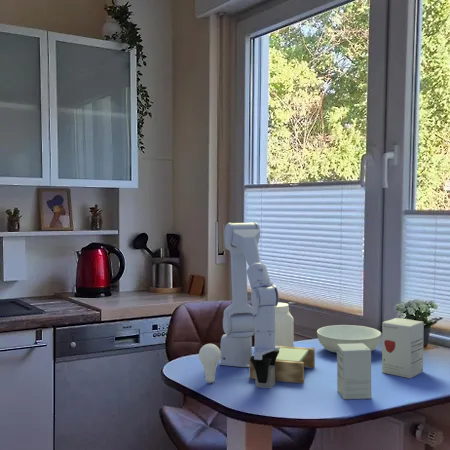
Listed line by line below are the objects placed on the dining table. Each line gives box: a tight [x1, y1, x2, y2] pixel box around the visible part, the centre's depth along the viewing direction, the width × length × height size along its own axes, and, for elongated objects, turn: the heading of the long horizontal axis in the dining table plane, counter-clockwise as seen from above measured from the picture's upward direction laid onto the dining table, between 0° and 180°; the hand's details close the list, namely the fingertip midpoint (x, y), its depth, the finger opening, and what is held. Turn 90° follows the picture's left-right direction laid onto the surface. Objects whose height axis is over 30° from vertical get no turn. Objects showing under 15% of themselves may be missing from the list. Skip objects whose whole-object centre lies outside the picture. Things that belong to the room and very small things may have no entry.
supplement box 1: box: [336, 343, 372, 400], centre depth 152 cm, size 7×7×13 cm
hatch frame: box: [249, 346, 316, 384], centre depth 172 cm, size 15×17×6 cm
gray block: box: [255, 365, 276, 389], centre depth 161 cm, size 4×4×5 cm
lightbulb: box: [198, 343, 221, 384], centre depth 163 cm, size 6×6×11 cm
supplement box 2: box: [381, 317, 425, 379], centre depth 171 cm, size 9×9×15 cm
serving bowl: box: [316, 324, 382, 354], centre depth 195 cm, size 21×21×7 cm
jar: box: [274, 302, 295, 347], centre depth 201 cm, size 12×10×15 cm
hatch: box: [276, 348, 308, 362], centre depth 172 cm, size 12×13×1 cm
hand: (265, 379), depth 161 cm, fingers open, 6 cm apart
